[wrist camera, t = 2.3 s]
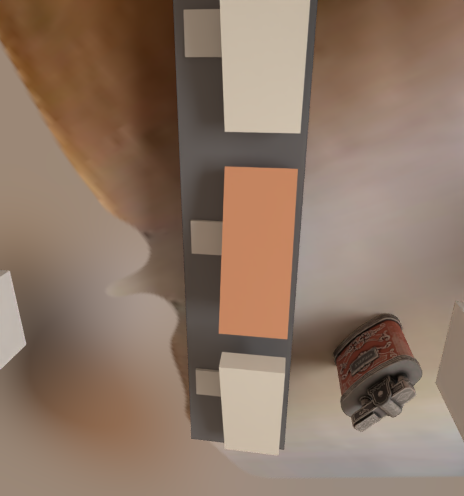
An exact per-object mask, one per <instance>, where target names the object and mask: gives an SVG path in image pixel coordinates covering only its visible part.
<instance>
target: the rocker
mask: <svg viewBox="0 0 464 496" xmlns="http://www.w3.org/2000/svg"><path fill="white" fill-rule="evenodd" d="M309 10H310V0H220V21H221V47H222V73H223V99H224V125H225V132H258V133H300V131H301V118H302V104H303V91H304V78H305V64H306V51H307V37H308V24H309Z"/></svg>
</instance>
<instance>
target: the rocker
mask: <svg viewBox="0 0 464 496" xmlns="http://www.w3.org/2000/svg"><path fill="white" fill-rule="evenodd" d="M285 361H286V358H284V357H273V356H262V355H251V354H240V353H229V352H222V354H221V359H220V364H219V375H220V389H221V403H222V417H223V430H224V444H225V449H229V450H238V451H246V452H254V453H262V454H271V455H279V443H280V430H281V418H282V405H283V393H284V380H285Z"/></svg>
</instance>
